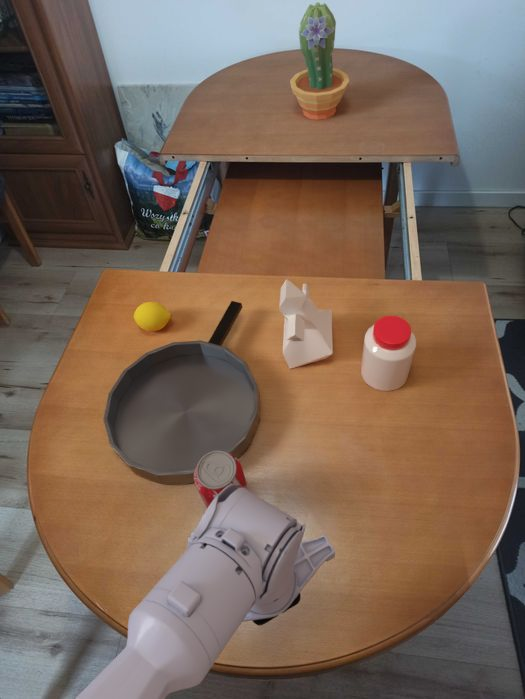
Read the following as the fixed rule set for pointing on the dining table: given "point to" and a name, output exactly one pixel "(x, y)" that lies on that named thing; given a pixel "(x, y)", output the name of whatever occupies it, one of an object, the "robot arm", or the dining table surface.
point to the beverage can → (217, 474)
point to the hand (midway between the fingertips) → (271, 599)
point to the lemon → (151, 316)
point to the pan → (183, 406)
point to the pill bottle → (387, 353)
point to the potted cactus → (318, 65)
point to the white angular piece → (304, 327)
